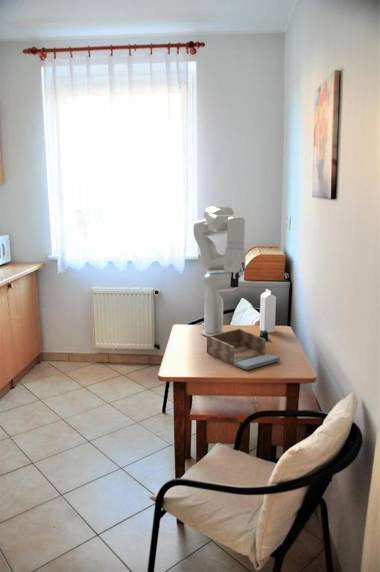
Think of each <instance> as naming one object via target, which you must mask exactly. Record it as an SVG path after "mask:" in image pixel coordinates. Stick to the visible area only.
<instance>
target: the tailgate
mask: <svg viewBox="0 0 380 572" xmlns="http://www.w3.org/2000/svg"><path fill="white" fill-rule="evenodd" d="M280 361H281V357H279V356H276V355H271V354H268V353H265V355H261V356H257V357H254V358H250V359H246V360H242V361H239V362H235V363H234V364H233V365H234V366H235V367H237V368H240V369H243V370H246V371H248V370H252V369H255V368H260V367H263V366H265V365H269V364H274V363H276V362H277V363H278V362H280Z"/></svg>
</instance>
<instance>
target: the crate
mask: <svg viewBox="0 0 380 572" xmlns="http://www.w3.org/2000/svg"><path fill="white" fill-rule="evenodd" d="M259 336H260V335H257V334H253V333H251V332H248V331H246V330H243V329H241V328H238V329H233V330H228V331H227V330H226V332H223V333H218V334H213V335H209V336H206V353H208V354H210V355H212V356H213V357H216V358H218V359H219V360H222V361H224V362H225V363H228V364H230V365H234V363H235V362H239V361H242V360H246V359H250V358H254V357H257V356H261V355H265V354H266V339H264V338H262V337H259Z"/></svg>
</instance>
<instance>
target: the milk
mask: <svg viewBox="0 0 380 572" xmlns="http://www.w3.org/2000/svg"><path fill="white" fill-rule="evenodd" d="M276 304H277V296H276V295H274V294H272V290H270V289H268V288H265V292H262V293H261V294H260V304H259V305H260V307H259V330H260V331H261V330H266V331H267V332H268V333H274V332H275V330H276Z"/></svg>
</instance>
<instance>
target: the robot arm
mask: <svg viewBox="0 0 380 572" xmlns="http://www.w3.org/2000/svg"><path fill="white" fill-rule="evenodd" d="M203 217H204V219H199V220H197V221H195V222H194V223H193V229H192V231H193V237H194V240H195V241H196V243H197V245H198V248H199V254H200V259H201V263H202V268H203V270H204V271H205V272H206V274H205V275H204V276H203V277H202V287H203V295H204V309H203V310H204V313H203V314H204V316H203V317H204V318H203V320H204V321H203V323H201V327H203V328H202V329H201V331H200V334H201V335H203V336H206V337H207V336H209V335H213V334H218V333H223V332H227V330H225V329H224V299H223V297H222V296H221V294H220V293H219V292H231V291H235V290H236V289H237V288H239V281H240V280H239V279H240V277H241V276H244V274H245V271H246V260H247V259H246V251H245V233H246V231H245V230H246V219H245V217H243V216H241V215H239V214H234V210H233V208H232V207H230V206H226V205H225V206H224V205H222V206H219V205H217V206H215V205H214V206H209V207H207V208H206V209H205V210H204V213H203ZM217 236H218V237H219V236H220V237H222V236H226V247H225V250H224V252H223V253H222V252H220V253H219V252H218V250H217V246H216V244H215V242H214V241H213V240H212V239H211V238H209V237H217Z"/></svg>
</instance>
